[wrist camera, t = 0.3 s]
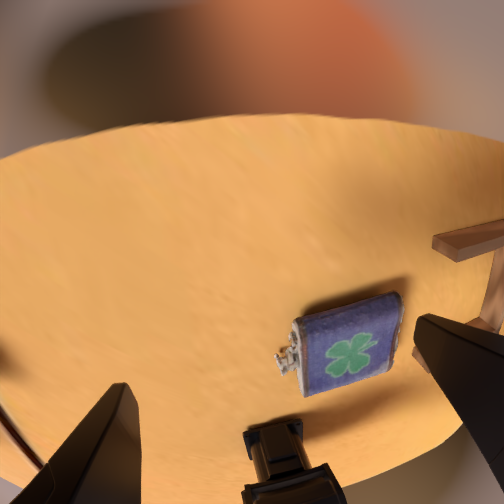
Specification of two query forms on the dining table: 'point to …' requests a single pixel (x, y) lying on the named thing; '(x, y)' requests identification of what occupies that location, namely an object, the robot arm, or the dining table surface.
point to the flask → (344, 343)
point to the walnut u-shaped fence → (500, 283)
